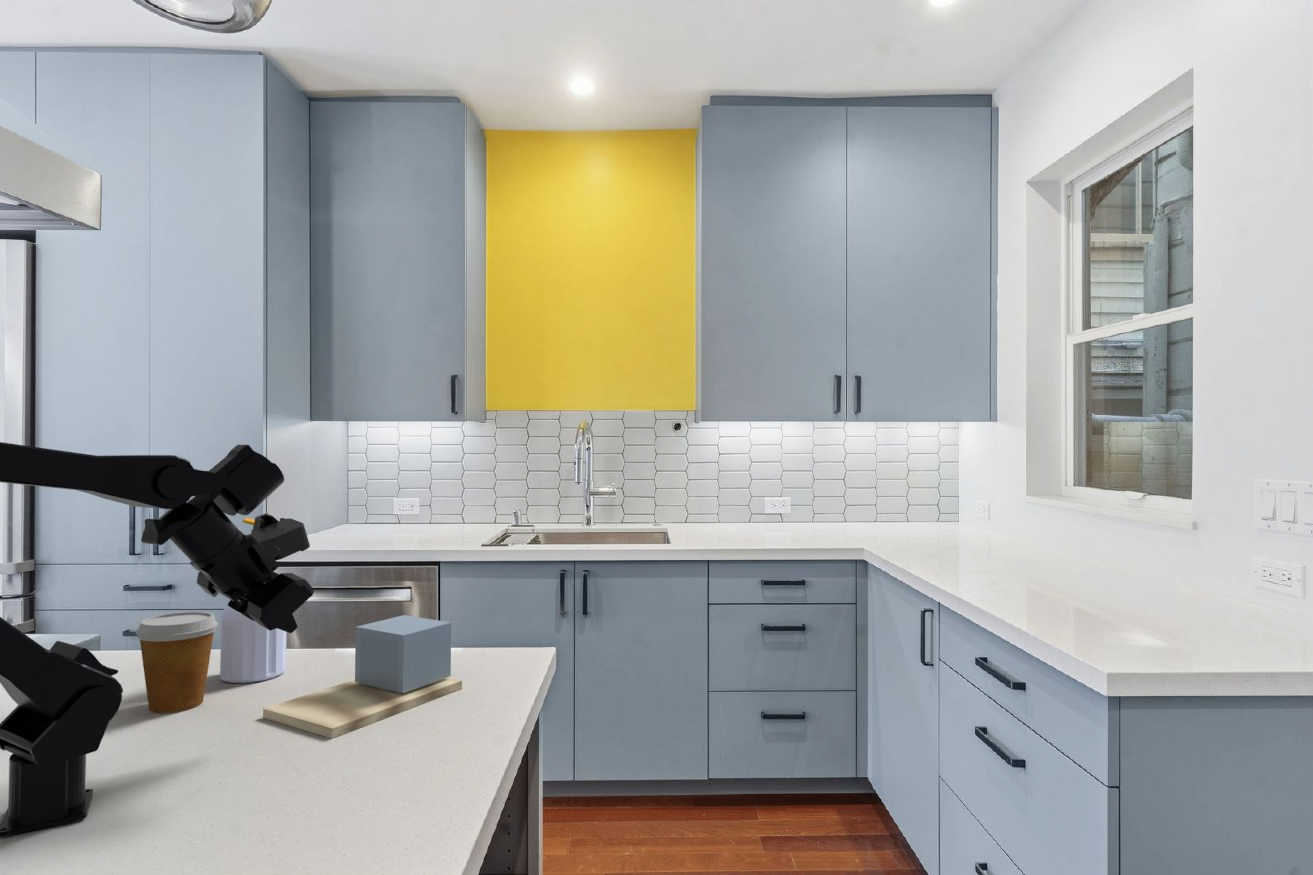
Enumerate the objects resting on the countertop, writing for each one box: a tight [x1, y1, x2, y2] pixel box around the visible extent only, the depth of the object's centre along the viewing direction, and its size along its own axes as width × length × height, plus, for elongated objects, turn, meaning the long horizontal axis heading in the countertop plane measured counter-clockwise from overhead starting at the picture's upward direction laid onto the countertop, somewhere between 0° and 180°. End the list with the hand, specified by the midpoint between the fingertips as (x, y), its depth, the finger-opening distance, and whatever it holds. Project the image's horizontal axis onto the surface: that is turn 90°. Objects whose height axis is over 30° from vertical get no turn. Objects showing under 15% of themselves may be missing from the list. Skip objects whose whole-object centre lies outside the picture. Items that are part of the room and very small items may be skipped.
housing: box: [354, 614, 452, 693], centre depth 108 cm, size 9×10×8 cm
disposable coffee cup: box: [135, 611, 219, 714], centre depth 101 cm, size 10×10×12 cm
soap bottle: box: [219, 517, 287, 684], centre depth 115 cm, size 9×9×25 cm
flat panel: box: [262, 677, 463, 739], centre depth 103 cm, size 22×14×5 cm, turn 151°
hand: (293, 629), depth 93 cm, fingers closed
